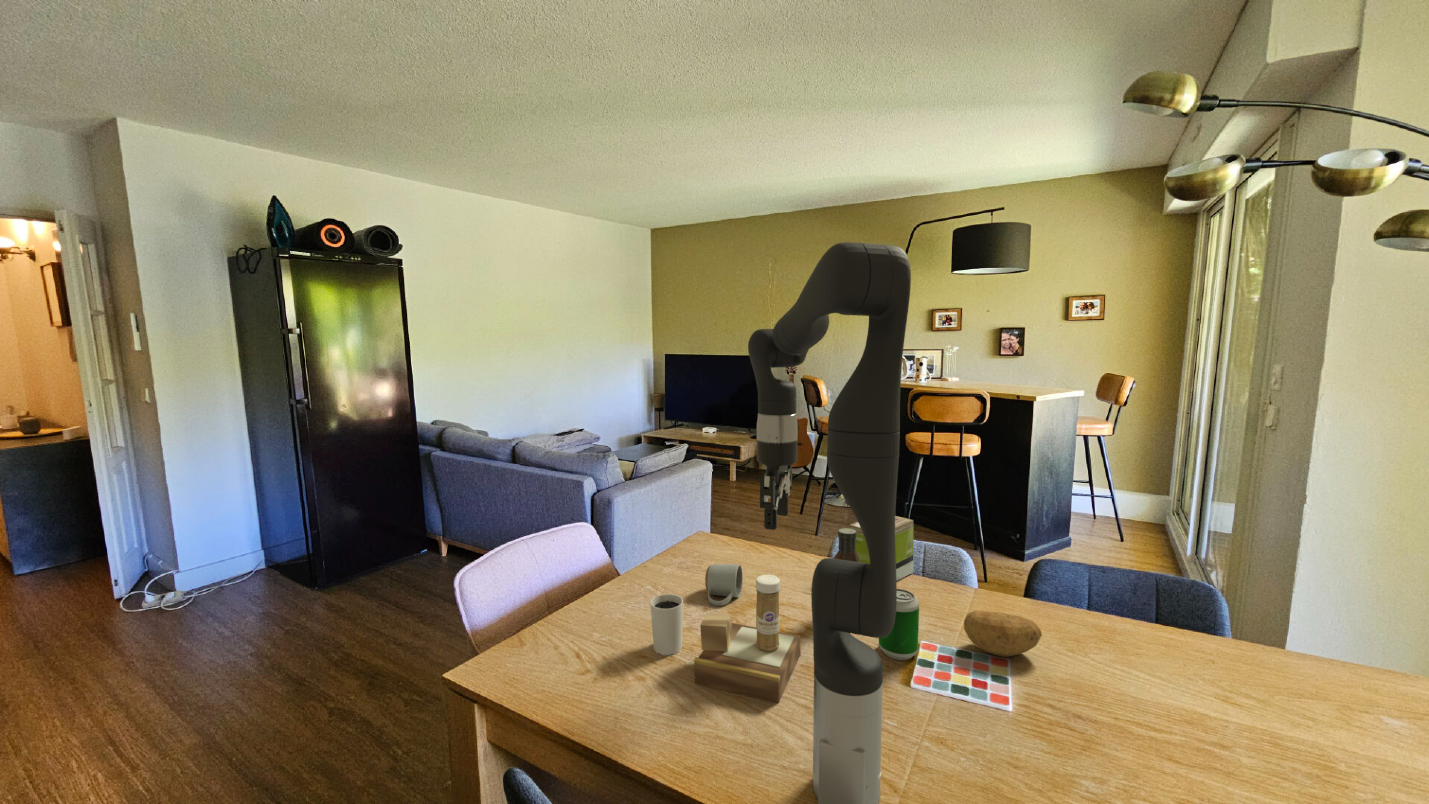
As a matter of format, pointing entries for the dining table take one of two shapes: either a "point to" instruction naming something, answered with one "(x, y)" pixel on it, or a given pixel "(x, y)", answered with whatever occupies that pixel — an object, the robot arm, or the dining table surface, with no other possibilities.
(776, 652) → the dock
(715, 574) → the ceramic mug
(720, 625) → the wooden cube
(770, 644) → the sprinkles bottle
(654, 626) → the white cup
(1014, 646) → the potato
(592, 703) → the dining table surface
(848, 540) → the sauce bottle
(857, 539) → the tea box
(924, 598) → the dining table surface
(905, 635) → the soda can
